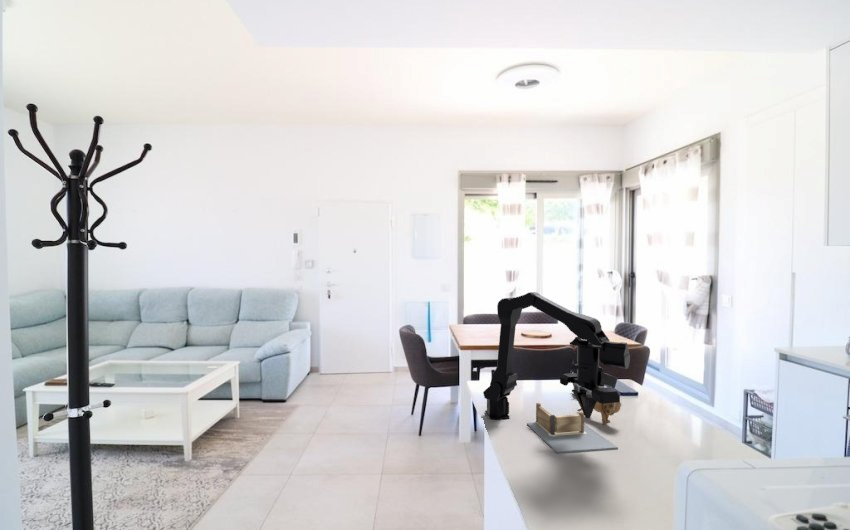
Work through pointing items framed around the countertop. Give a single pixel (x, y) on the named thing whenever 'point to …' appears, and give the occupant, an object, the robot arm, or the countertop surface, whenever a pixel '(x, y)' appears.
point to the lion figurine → (606, 410)
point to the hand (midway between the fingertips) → (587, 417)
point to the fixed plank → (545, 419)
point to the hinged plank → (569, 423)
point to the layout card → (573, 440)
